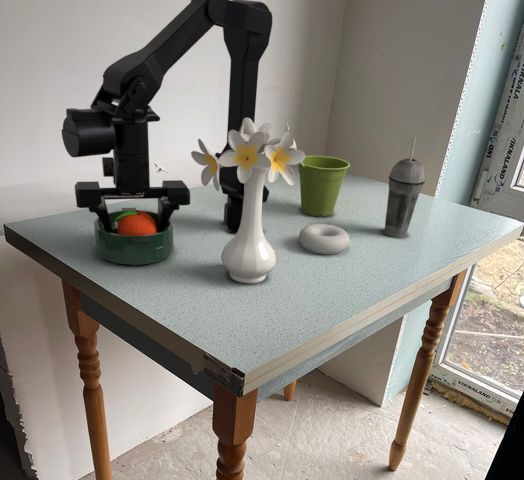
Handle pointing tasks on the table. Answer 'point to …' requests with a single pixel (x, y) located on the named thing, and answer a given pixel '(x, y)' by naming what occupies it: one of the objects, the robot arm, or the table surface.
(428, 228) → the table surface
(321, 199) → the plant pot
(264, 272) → the flower vase
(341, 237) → the donut
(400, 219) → the beverage cup
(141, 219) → the clementine
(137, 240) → the colander handles
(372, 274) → the table surface
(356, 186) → the table surface
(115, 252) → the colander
